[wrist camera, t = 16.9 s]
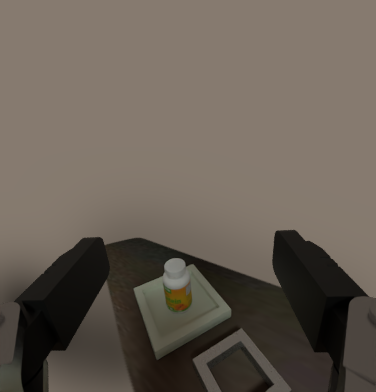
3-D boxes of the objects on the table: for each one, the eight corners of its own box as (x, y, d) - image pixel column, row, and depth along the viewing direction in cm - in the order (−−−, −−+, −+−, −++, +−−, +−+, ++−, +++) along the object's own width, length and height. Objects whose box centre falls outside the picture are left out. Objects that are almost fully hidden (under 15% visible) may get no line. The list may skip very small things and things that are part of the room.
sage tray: (193, 270, 51) (192, 264, 50) (231, 316, 38) (231, 309, 38) (135, 295, 45) (133, 288, 44) (156, 360, 32) (155, 352, 31)
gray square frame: (241, 335, 35) (241, 328, 34) (290, 397, 27) (291, 389, 26) (193, 366, 31) (192, 359, 30) (233, 450, 23) (233, 443, 22)
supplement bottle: (161, 310, 40) (155, 271, 36) (173, 290, 44) (168, 253, 41) (186, 318, 38) (182, 277, 34) (196, 296, 42) (193, 258, 39)
